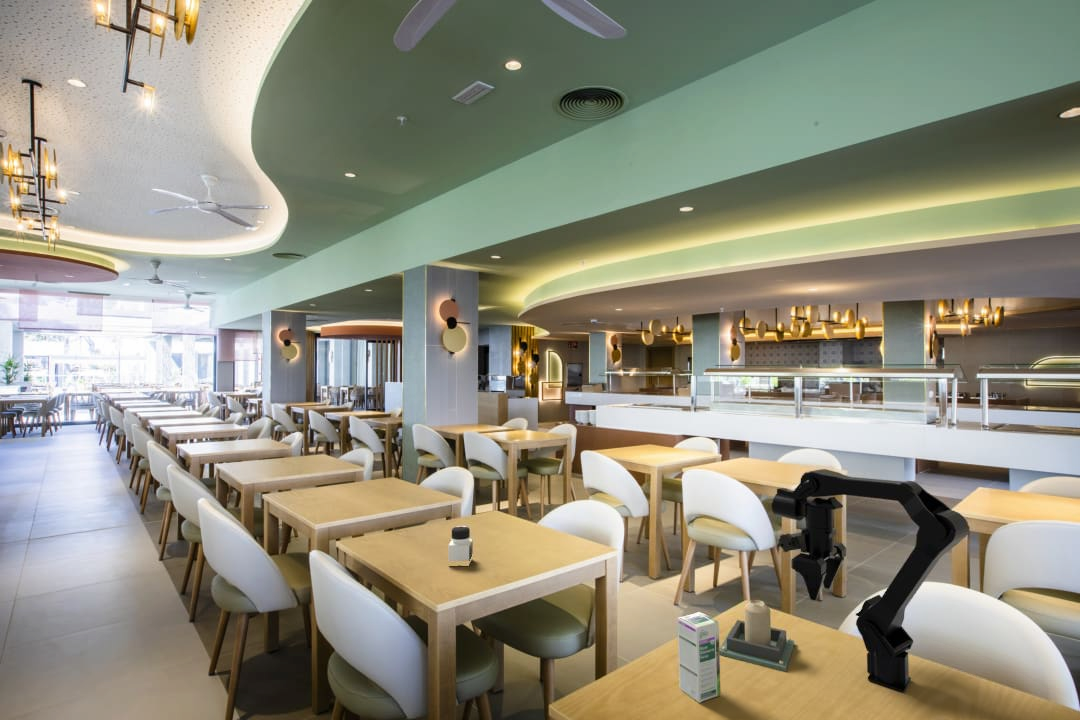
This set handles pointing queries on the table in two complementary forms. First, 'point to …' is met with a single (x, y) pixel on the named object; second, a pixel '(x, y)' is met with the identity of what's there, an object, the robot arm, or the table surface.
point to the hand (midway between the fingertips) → (820, 594)
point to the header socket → (758, 648)
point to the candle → (757, 623)
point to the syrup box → (699, 656)
